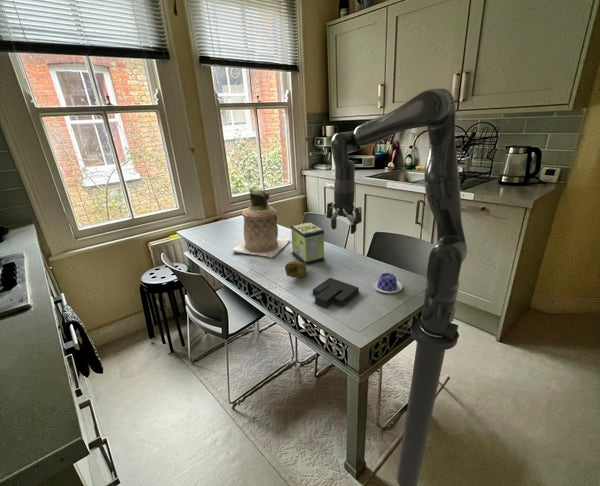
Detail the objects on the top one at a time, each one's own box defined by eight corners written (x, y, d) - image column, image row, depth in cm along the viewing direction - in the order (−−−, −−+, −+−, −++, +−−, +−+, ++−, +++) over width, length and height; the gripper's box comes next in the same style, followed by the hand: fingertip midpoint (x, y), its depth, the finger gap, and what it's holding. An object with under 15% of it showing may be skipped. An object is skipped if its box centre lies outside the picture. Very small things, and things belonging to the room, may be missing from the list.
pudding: (391, 298, 123) (392, 286, 121) (366, 287, 131) (367, 275, 129) (407, 286, 130) (409, 275, 128) (382, 277, 138) (383, 266, 136)
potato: (314, 274, 142) (313, 258, 139) (292, 284, 135) (291, 267, 131) (301, 268, 148) (301, 253, 145) (280, 277, 140) (279, 261, 137)
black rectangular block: (340, 296, 125) (340, 289, 124) (325, 307, 118) (325, 301, 117) (329, 292, 128) (329, 285, 127) (315, 303, 121) (315, 296, 120)
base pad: (358, 292, 127) (358, 287, 126) (342, 306, 119) (342, 300, 118) (329, 282, 135) (329, 277, 134) (312, 294, 127) (312, 289, 126)
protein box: (309, 249, 168) (309, 221, 162) (324, 260, 155) (324, 230, 149) (292, 253, 164) (290, 224, 158) (305, 264, 151) (304, 234, 145)
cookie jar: (274, 258, 159) (269, 196, 145) (231, 253, 166) (222, 193, 152) (290, 240, 180) (288, 184, 166) (251, 237, 187) (246, 182, 174)
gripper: (366, 190, 115) (364, 231, 122) (333, 185, 123) (333, 224, 130) (356, 194, 110) (354, 237, 117) (322, 189, 118) (322, 230, 125)
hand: (343, 231), depth 123 cm, fingers open, 8 cm apart
